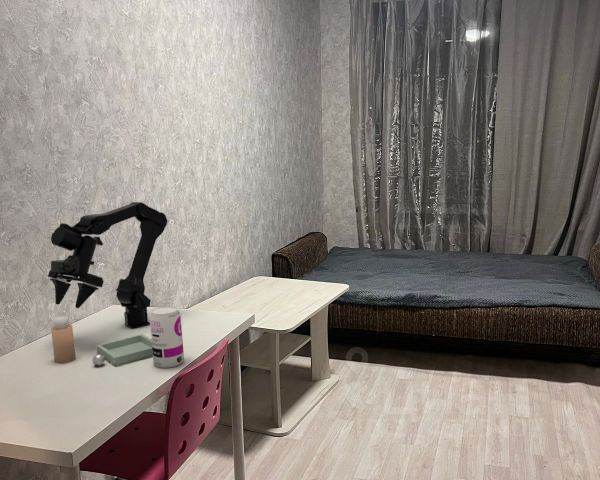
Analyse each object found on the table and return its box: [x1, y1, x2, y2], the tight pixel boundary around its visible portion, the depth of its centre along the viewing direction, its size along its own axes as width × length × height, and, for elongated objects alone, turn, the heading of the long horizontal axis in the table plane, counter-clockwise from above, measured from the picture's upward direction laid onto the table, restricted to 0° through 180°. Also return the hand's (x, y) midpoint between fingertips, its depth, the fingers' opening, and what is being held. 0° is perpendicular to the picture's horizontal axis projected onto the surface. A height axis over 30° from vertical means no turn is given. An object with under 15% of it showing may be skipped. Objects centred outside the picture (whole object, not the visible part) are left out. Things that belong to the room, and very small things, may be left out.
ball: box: [92, 354, 106, 367], centre depth 167 cm, size 3×3×3 cm
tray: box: [96, 333, 153, 367], centre depth 175 cm, size 14×14×2 cm
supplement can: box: [149, 306, 185, 369], centre depth 165 cm, size 8×8×15 cm
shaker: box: [50, 314, 77, 364], centre depth 171 cm, size 6×6×12 cm
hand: (66, 306), depth 179 cm, fingers open, 9 cm apart
